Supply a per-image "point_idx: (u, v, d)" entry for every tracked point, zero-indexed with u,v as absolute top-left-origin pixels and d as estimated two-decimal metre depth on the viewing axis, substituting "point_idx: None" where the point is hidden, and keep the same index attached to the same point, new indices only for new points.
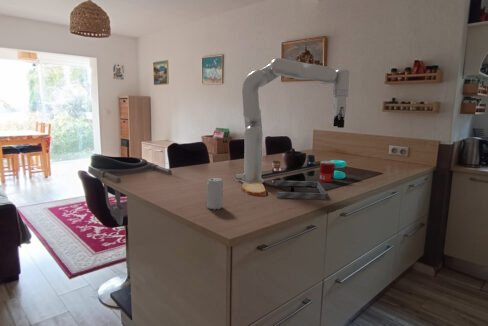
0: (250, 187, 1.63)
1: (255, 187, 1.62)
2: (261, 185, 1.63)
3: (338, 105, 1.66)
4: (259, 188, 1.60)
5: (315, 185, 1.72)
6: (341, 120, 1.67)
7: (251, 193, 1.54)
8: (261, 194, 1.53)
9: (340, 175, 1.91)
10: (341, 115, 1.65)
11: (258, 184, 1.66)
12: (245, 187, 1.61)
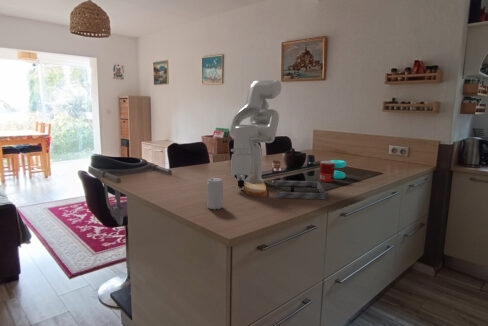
0: (252, 186, 1.63)
1: (257, 187, 1.62)
2: (263, 185, 1.63)
3: (251, 164, 1.59)
4: (260, 188, 1.59)
5: (315, 185, 1.72)
6: (244, 180, 1.62)
7: (251, 193, 1.54)
8: (261, 194, 1.52)
9: (340, 175, 1.91)
10: (247, 176, 1.61)
11: (260, 184, 1.66)
12: (247, 187, 1.61)
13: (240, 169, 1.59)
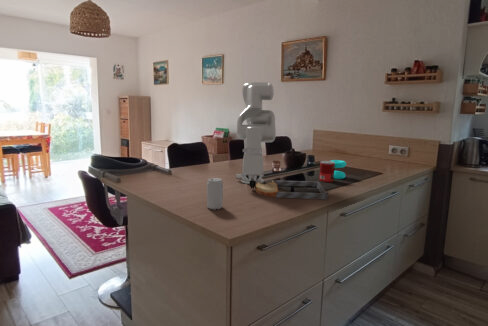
0: (263, 187, 1.63)
1: (268, 187, 1.62)
2: (274, 185, 1.63)
3: (262, 164, 1.59)
4: (272, 188, 1.59)
5: (315, 185, 1.72)
6: (255, 181, 1.62)
7: (263, 193, 1.54)
8: (273, 194, 1.52)
9: (340, 175, 1.91)
10: (259, 177, 1.61)
11: (272, 184, 1.66)
12: (258, 187, 1.62)
13: (252, 169, 1.58)
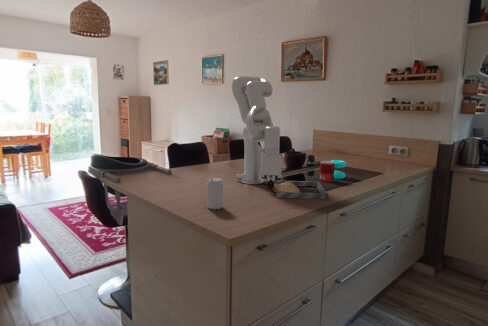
0: (282, 187, 1.62)
1: (287, 187, 1.62)
2: (292, 185, 1.63)
3: (281, 164, 1.58)
4: (292, 188, 1.59)
5: (315, 185, 1.72)
6: (273, 181, 1.61)
7: None
8: None
9: (340, 175, 1.91)
10: (277, 177, 1.60)
11: (288, 184, 1.66)
12: (277, 188, 1.61)
13: (270, 169, 1.58)
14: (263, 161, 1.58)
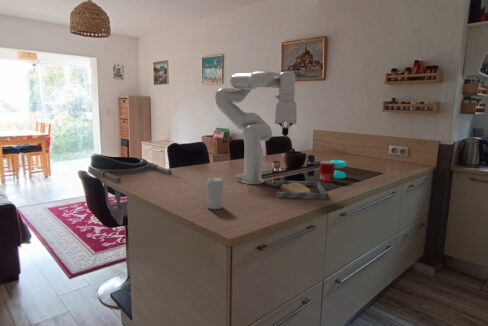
0: (291, 187, 1.62)
1: (296, 188, 1.62)
2: (302, 185, 1.64)
3: (296, 110, 1.57)
4: (302, 189, 1.60)
5: (315, 185, 1.72)
6: (288, 128, 1.61)
7: None
8: None
9: (340, 175, 1.91)
10: (292, 124, 1.60)
11: (297, 185, 1.66)
12: (287, 188, 1.60)
13: (285, 116, 1.57)
14: (278, 107, 1.57)
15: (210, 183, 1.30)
